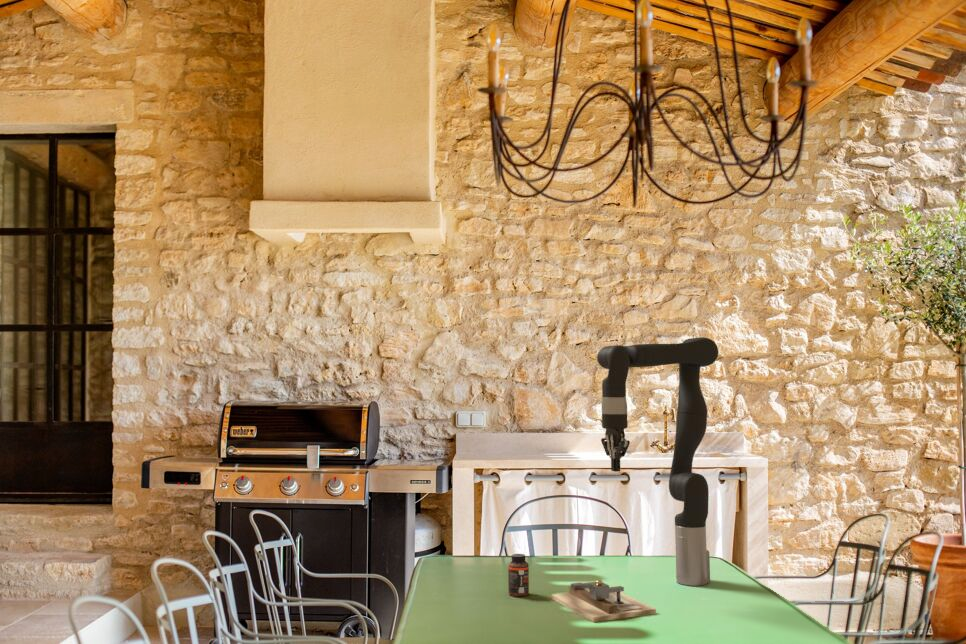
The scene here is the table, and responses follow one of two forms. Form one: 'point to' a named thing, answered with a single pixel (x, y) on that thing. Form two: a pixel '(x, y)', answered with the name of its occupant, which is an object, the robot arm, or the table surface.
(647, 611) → the wooden slider puzzle board
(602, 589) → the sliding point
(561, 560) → the table surface
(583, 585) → the bar
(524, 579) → the supplement bottle
